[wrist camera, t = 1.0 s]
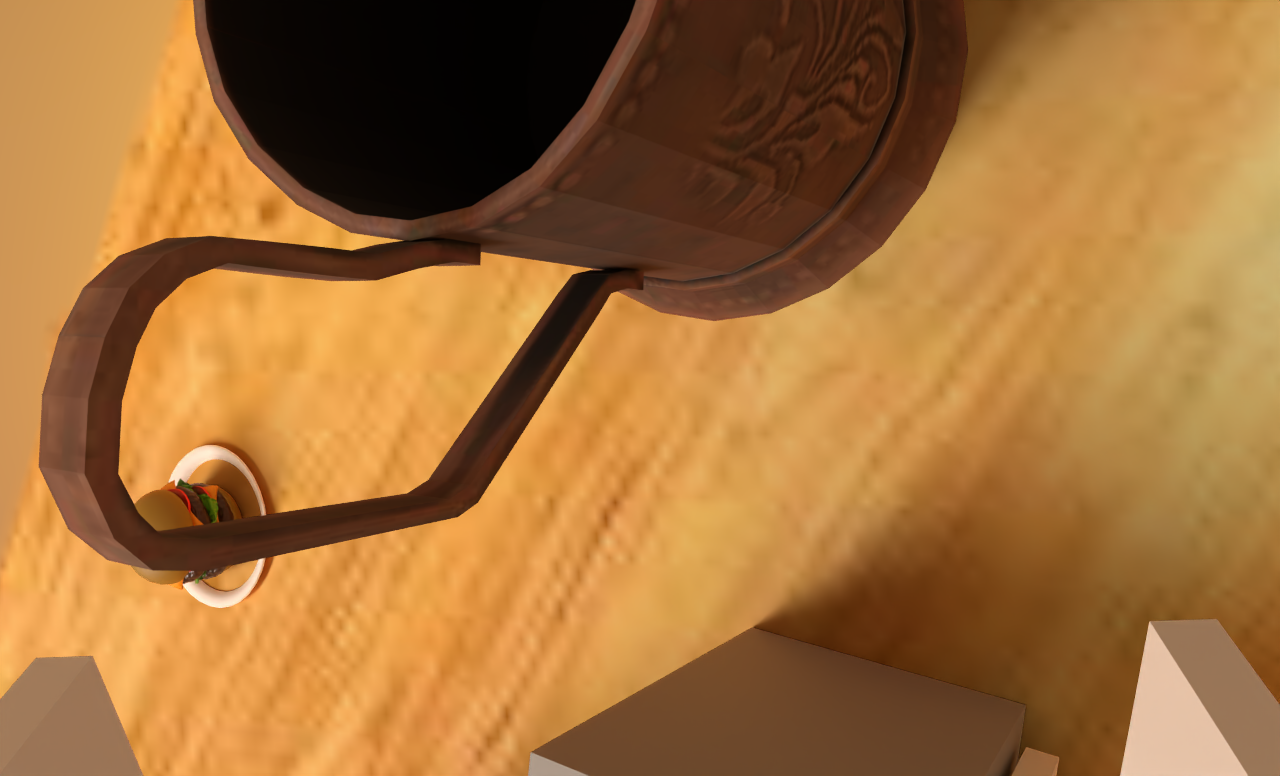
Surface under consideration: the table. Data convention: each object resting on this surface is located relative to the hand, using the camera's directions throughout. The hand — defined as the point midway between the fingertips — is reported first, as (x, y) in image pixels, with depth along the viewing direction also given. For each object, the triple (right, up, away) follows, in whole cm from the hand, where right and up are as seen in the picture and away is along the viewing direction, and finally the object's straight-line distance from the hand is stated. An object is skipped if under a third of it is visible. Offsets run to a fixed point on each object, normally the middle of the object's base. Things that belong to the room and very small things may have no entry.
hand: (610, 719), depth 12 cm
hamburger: (-22, -3, +42) cm, 48 cm away
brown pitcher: (+4, +13, +26) cm, 29 cm away
